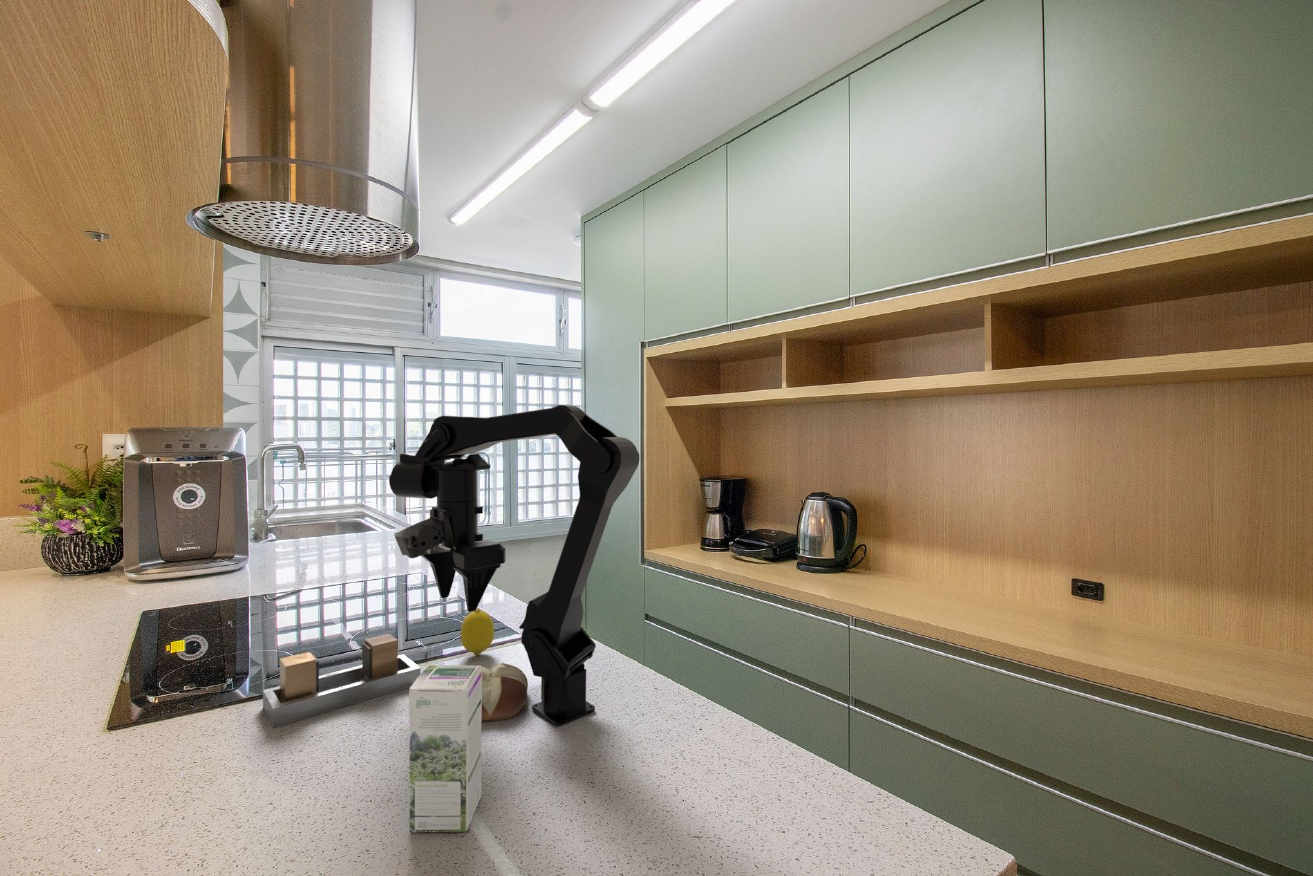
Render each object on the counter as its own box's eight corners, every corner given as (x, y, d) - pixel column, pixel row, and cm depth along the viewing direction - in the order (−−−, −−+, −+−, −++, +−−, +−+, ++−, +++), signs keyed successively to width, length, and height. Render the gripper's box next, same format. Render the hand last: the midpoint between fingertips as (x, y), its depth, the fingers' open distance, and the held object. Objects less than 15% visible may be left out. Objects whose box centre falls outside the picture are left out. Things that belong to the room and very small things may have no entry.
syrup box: (483, 796, 62) (483, 662, 61) (466, 835, 56) (467, 687, 55) (429, 797, 61) (429, 662, 61) (406, 836, 55) (407, 687, 55)
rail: (420, 684, 88) (420, 638, 88) (273, 727, 75) (273, 674, 75) (403, 669, 93) (403, 626, 93) (263, 708, 80) (262, 658, 80)
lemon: (473, 664, 95) (473, 616, 95) (453, 656, 99) (454, 609, 98) (500, 654, 100) (501, 608, 99) (481, 646, 103) (481, 602, 103)
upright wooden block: (397, 679, 87) (397, 640, 87) (369, 687, 84) (369, 646, 84) (389, 671, 90) (389, 633, 90) (361, 679, 87) (361, 640, 87)
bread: (530, 685, 88) (530, 653, 88) (524, 723, 77) (524, 686, 77) (455, 689, 87) (455, 656, 87) (437, 729, 75) (437, 691, 75)
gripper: (378, 498, 87) (379, 601, 87) (428, 512, 73) (429, 633, 74) (450, 493, 95) (450, 587, 95) (507, 504, 81) (507, 614, 81)
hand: (457, 604), depth 86 cm, fingers open, 9 cm apart
